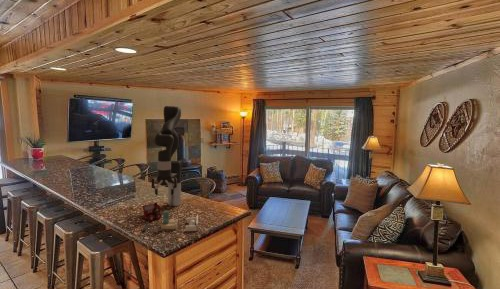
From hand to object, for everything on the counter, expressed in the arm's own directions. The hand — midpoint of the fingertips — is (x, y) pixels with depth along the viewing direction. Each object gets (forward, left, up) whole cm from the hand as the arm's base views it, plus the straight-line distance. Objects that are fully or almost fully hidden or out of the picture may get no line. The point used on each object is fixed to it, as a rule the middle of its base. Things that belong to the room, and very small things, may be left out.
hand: (164, 194), depth 158 cm
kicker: (+1, +3, -20) cm, 20 cm away
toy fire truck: (-13, -9, -20) cm, 26 cm away
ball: (+1, +16, -20) cm, 26 cm away
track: (+1, -1, -20) cm, 20 cm away
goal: (+1, +16, -20) cm, 26 cm away
